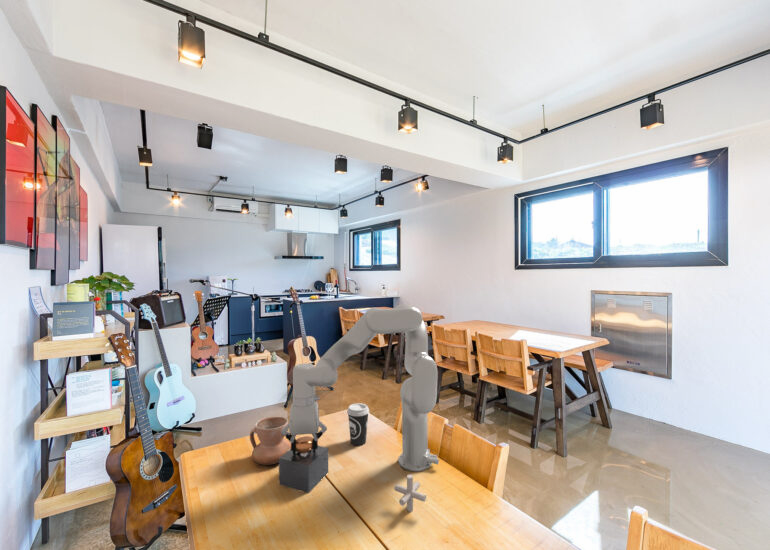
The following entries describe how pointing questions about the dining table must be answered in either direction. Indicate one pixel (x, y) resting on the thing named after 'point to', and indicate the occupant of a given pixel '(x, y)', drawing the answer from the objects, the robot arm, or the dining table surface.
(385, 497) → the dining table surface
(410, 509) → the light grey toy jack
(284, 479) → the hitch block
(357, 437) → the coffee cup
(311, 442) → the copper pin
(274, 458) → the ceramic jug
